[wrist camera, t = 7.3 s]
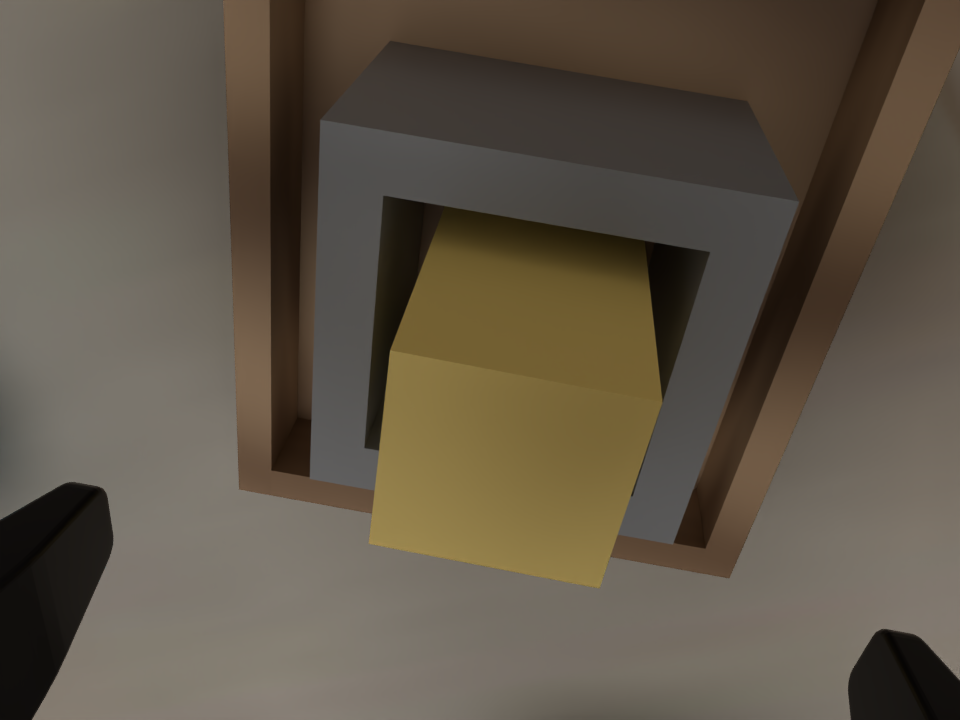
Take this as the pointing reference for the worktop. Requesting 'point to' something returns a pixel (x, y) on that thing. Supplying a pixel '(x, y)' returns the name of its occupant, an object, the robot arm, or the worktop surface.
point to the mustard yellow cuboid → (518, 398)
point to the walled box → (790, 294)
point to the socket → (551, 200)
